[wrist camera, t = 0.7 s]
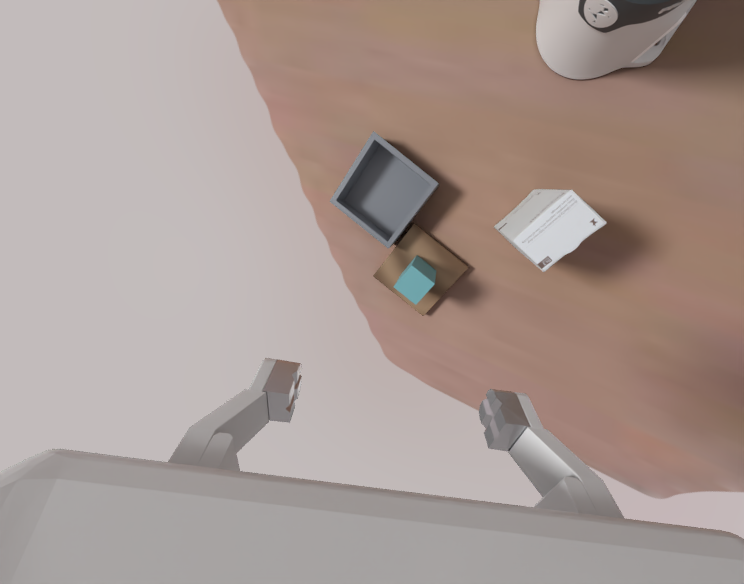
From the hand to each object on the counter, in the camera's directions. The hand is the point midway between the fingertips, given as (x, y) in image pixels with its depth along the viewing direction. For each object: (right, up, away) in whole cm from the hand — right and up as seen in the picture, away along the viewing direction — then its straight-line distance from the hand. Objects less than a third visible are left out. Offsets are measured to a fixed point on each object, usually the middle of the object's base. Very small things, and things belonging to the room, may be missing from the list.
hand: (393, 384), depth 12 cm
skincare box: (+24, +15, +34) cm, 45 cm away
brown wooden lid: (+8, +8, +41) cm, 42 cm away
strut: (+7, +8, +39) cm, 41 cm away
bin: (+2, +21, +38) cm, 44 cm away
